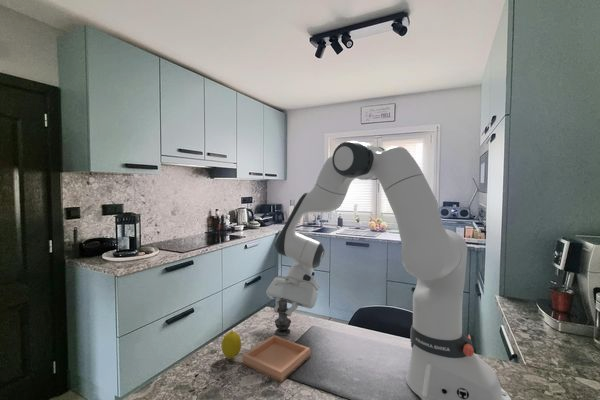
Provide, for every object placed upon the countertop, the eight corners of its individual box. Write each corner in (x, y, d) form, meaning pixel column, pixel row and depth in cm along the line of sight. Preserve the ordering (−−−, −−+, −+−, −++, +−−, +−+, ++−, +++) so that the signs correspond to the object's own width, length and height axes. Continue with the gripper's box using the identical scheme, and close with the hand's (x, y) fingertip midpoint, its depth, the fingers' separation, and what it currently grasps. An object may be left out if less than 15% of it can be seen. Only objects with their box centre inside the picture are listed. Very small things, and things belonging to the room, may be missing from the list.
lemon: (236, 365, 76) (236, 336, 76) (218, 362, 78) (218, 334, 78) (244, 354, 82) (244, 327, 82) (227, 352, 83) (227, 326, 83)
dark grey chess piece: (290, 335, 93) (290, 300, 93) (273, 335, 93) (273, 300, 93) (291, 327, 98) (291, 294, 98) (275, 327, 99) (275, 294, 99)
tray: (310, 356, 81) (310, 348, 81) (281, 382, 69) (281, 372, 69) (274, 342, 89) (274, 335, 89) (242, 363, 77) (242, 354, 77)
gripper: (272, 270, 107) (255, 303, 99) (317, 278, 96) (302, 316, 88) (279, 279, 111) (263, 311, 103) (323, 288, 99) (309, 324, 91)
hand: (281, 313), depth 95 cm, fingers closed on dark grey chess piece, 4 cm apart
